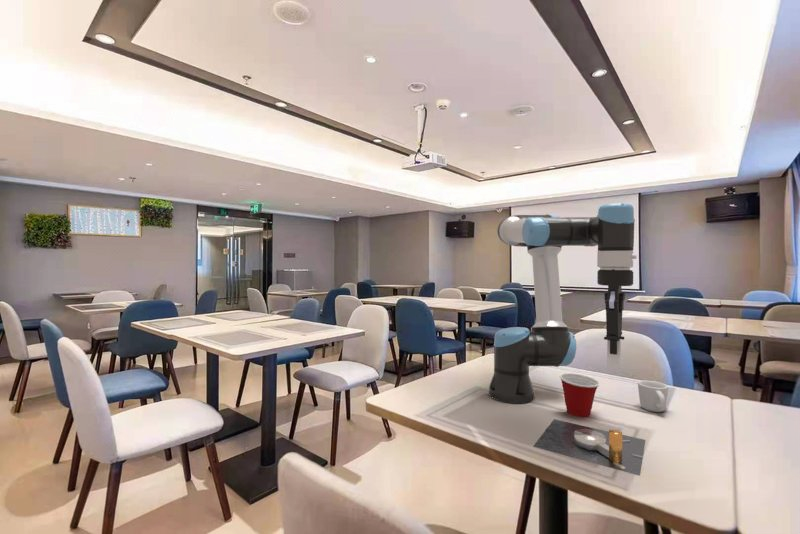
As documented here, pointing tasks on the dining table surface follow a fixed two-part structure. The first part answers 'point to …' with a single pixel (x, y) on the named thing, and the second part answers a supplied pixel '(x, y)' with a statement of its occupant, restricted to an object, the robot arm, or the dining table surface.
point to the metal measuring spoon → (601, 442)
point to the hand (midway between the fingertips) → (613, 366)
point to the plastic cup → (578, 393)
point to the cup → (652, 395)
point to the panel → (562, 442)
